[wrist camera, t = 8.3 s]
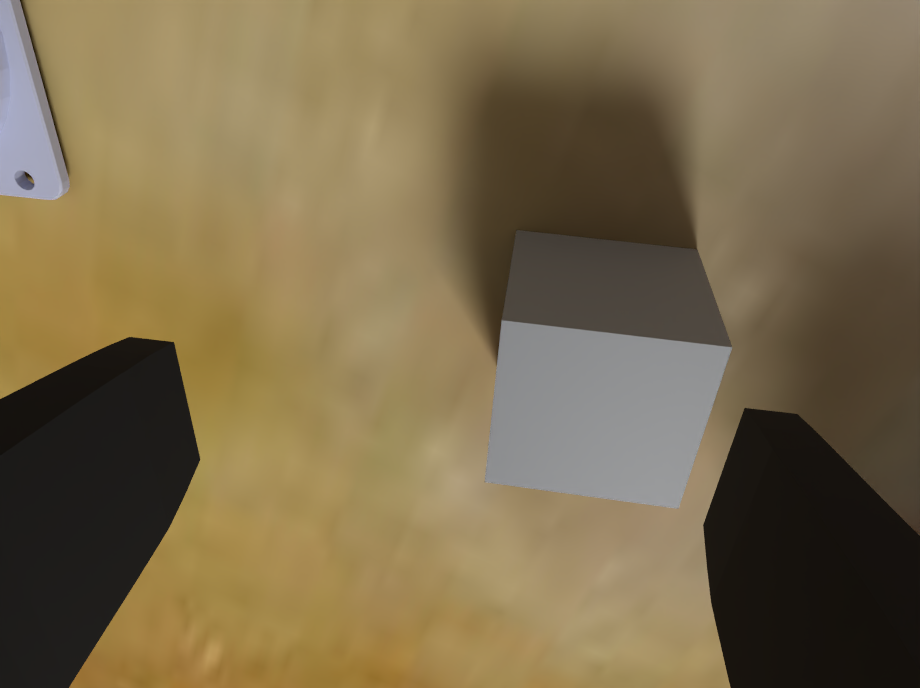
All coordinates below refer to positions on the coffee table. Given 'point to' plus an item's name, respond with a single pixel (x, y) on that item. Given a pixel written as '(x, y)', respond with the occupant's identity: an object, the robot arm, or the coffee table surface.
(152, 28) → the coffee table surface
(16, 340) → the coffee table surface
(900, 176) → the coffee table surface
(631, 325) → the slate grey cube
